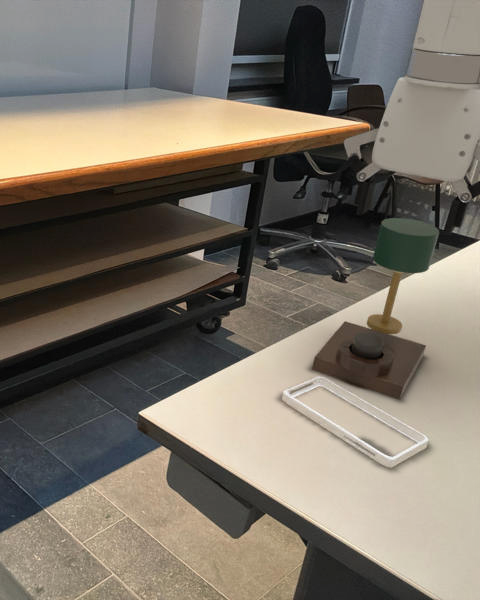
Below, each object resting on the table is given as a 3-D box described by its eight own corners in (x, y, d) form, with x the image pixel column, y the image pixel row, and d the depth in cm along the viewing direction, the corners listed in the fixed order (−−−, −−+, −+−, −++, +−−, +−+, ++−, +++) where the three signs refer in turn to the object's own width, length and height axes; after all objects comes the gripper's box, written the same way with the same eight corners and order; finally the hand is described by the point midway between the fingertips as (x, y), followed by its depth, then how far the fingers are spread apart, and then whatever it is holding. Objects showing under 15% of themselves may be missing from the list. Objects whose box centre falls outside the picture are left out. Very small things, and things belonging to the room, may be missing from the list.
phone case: (428, 448, 75) (318, 383, 86) (431, 438, 75) (320, 374, 86) (388, 470, 71) (279, 400, 83) (391, 460, 71) (281, 391, 82)
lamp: (415, 325, 93) (444, 225, 87) (403, 344, 88) (433, 240, 82) (365, 310, 97) (388, 214, 90) (351, 328, 92) (375, 227, 85)
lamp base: (422, 359, 93) (429, 333, 91) (397, 404, 83) (405, 376, 81) (341, 334, 99) (347, 309, 97) (309, 373, 88) (315, 347, 87)
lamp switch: (383, 352, 87) (387, 338, 86) (376, 363, 84) (380, 349, 83) (355, 343, 89) (358, 329, 88) (347, 354, 86) (350, 340, 85)
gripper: (542, 77, 70) (490, 231, 78) (372, 58, 79) (340, 198, 87) (535, 83, 65) (480, 249, 72) (353, 62, 74) (321, 212, 81)
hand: (404, 221), depth 80 cm, fingers open, 9 cm apart
